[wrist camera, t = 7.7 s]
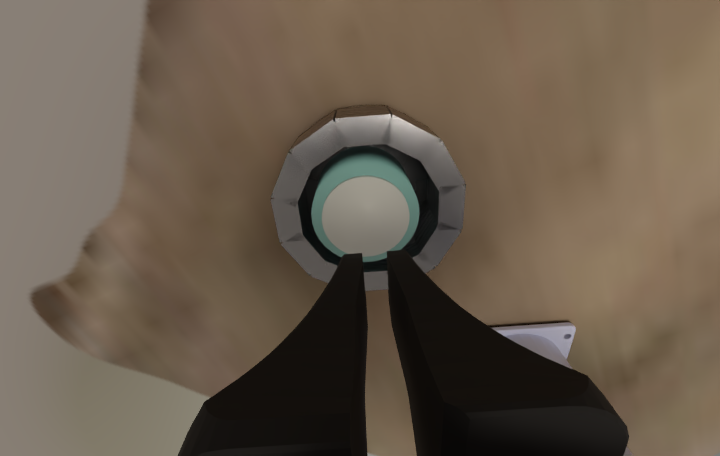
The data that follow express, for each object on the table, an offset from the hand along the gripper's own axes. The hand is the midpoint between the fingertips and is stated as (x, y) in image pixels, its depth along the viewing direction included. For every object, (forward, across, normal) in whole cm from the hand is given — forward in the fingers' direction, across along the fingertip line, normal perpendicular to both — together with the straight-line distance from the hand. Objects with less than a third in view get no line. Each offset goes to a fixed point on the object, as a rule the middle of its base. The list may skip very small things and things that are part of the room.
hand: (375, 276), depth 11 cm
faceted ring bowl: (+8, 0, 0) cm, 8 cm away
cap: (+8, 0, 0) cm, 8 cm away
